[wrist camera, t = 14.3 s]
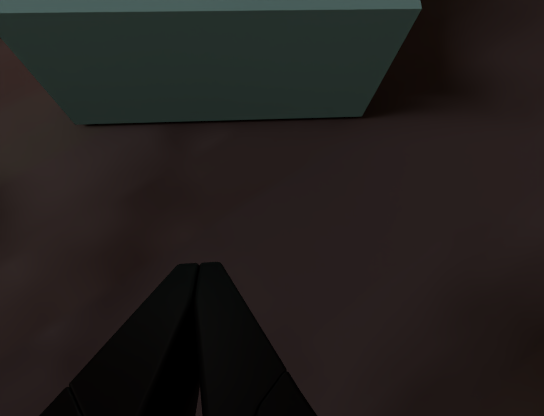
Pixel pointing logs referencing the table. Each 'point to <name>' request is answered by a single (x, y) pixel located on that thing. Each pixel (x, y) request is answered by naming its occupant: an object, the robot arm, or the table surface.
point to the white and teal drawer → (207, 56)
